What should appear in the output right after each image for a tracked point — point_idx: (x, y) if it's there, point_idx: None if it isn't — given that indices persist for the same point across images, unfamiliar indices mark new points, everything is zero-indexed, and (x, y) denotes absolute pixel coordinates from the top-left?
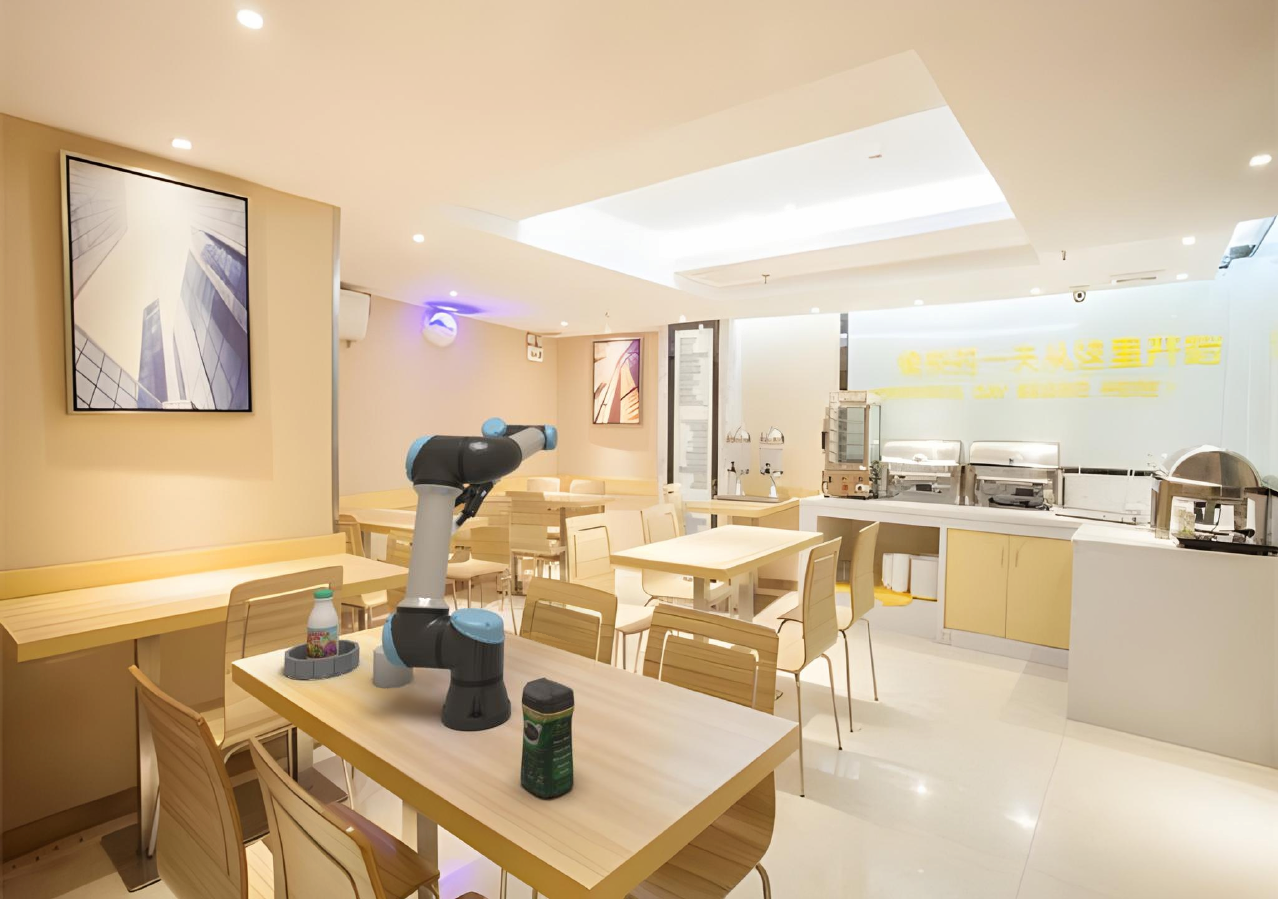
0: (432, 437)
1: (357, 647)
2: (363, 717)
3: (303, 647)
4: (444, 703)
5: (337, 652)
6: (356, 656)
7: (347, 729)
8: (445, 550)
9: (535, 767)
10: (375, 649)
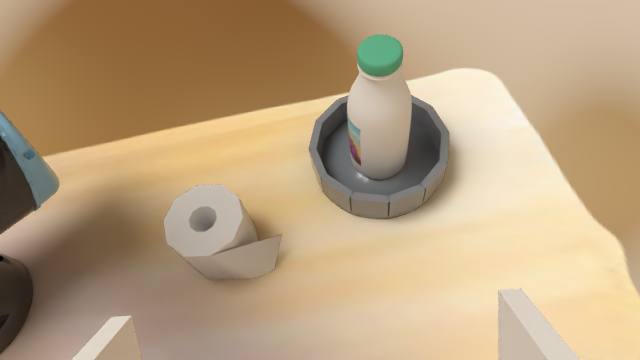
0: None
1: (353, 195)
2: (120, 173)
3: (431, 121)
4: (10, 262)
5: (363, 165)
6: (340, 198)
7: (101, 151)
8: None
9: None
10: (221, 188)
